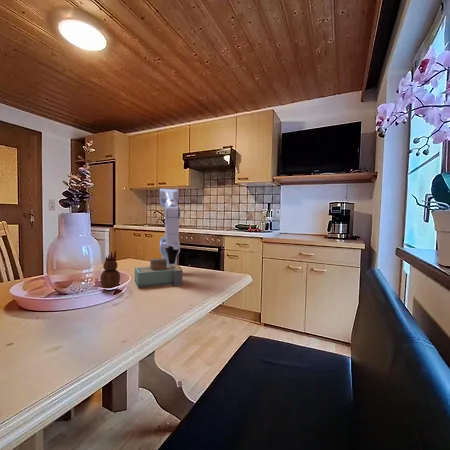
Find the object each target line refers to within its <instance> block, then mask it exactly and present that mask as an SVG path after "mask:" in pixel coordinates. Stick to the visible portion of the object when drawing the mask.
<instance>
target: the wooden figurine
mask: <svg viewBox="0 0 450 450" xmlns="http://www.w3.org/2000/svg"><path fill="white" fill-rule="evenodd" d="M117 268H118V263H117V251H116V250H115V251H114V254H113V253H112V251H111V252H110V255H109V254H108V255H107V256H106V257H105V259H104V263H103V271H102V273H101V274H100V279H99V280H100V285H101V287H102V289H103V288H112V287H115V286H118V287H119V284H120V280H121V273H120V272H119V270H117Z"/></svg>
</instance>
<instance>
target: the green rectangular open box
mask: <svg viewBox="0 0 450 450" xmlns="http://www.w3.org/2000/svg"><path fill="white" fill-rule="evenodd" d="M167 266H172V265H167ZM144 267H145V266H140V267H134V282H135V283H134V284H135V285H136V287H137V288H138V289H141V288H152V287H160V286H161V287H163V286H168V285H169V286H171V285H173V287H181V286H183V268H181V271H176V270H163V271H150V272H140V271H139V269H138V268H144Z"/></svg>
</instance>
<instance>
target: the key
mask: <svg viewBox="0 0 450 450" xmlns="http://www.w3.org/2000/svg"><path fill="white" fill-rule="evenodd" d="M173 269H174V270H176V271H181V269H182V266H181V265H179V264H178V263H177V264H174V265H173Z"/></svg>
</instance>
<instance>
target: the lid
mask: <svg viewBox="0 0 450 450" xmlns="http://www.w3.org/2000/svg"><path fill="white" fill-rule="evenodd" d="M149 261H150V265H149V266H143V267H144V268H138V269H139V271H140V272H150V271H163V270H174V269H173V265H172V266H167V260H166V259H165V258H162V257H161V258H150V260H149Z"/></svg>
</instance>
